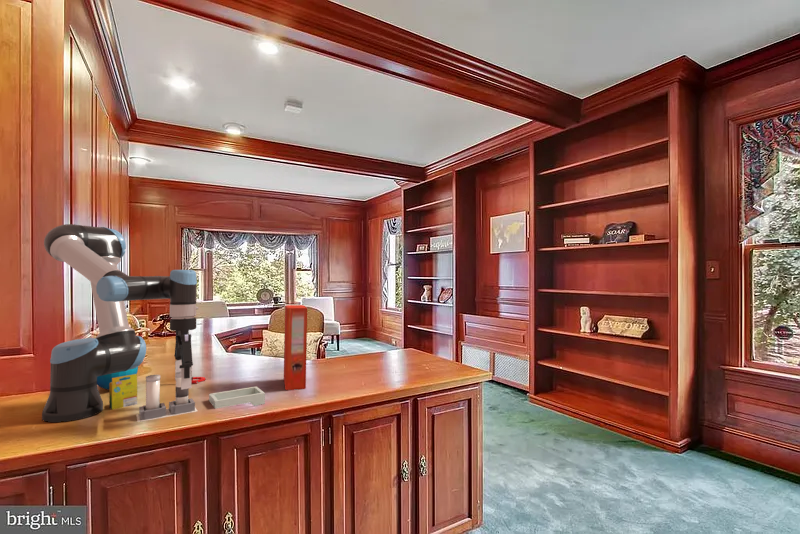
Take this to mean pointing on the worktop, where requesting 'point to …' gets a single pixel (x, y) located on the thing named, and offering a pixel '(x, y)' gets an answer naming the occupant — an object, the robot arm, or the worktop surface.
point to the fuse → (152, 392)
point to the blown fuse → (180, 391)
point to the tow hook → (196, 378)
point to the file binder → (295, 347)
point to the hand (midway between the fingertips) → (182, 384)
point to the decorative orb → (106, 379)
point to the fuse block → (165, 410)
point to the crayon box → (123, 392)
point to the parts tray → (237, 397)
